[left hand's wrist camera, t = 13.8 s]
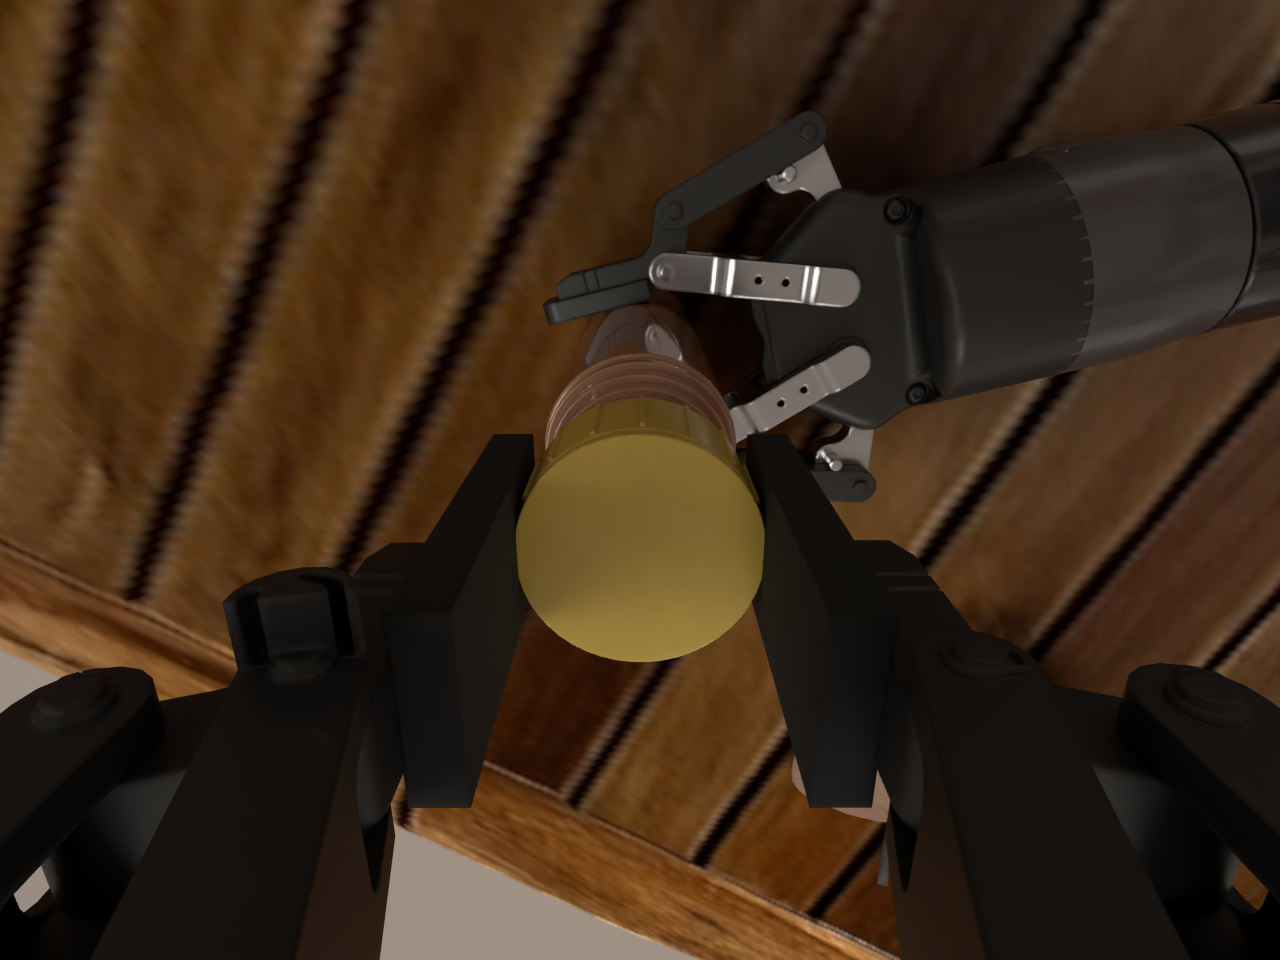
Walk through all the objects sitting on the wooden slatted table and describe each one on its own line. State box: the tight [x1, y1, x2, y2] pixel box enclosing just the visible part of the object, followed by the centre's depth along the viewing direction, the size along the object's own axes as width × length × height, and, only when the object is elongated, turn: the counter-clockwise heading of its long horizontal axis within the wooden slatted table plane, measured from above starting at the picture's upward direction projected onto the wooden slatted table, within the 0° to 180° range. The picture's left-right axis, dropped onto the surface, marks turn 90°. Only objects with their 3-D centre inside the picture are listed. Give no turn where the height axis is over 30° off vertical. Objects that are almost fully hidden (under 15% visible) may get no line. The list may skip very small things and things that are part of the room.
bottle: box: [545, 290, 736, 451], centre depth 22 cm, size 5×5×21 cm
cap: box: [516, 396, 765, 662], centre depth 13 cm, size 4×4×2 cm
